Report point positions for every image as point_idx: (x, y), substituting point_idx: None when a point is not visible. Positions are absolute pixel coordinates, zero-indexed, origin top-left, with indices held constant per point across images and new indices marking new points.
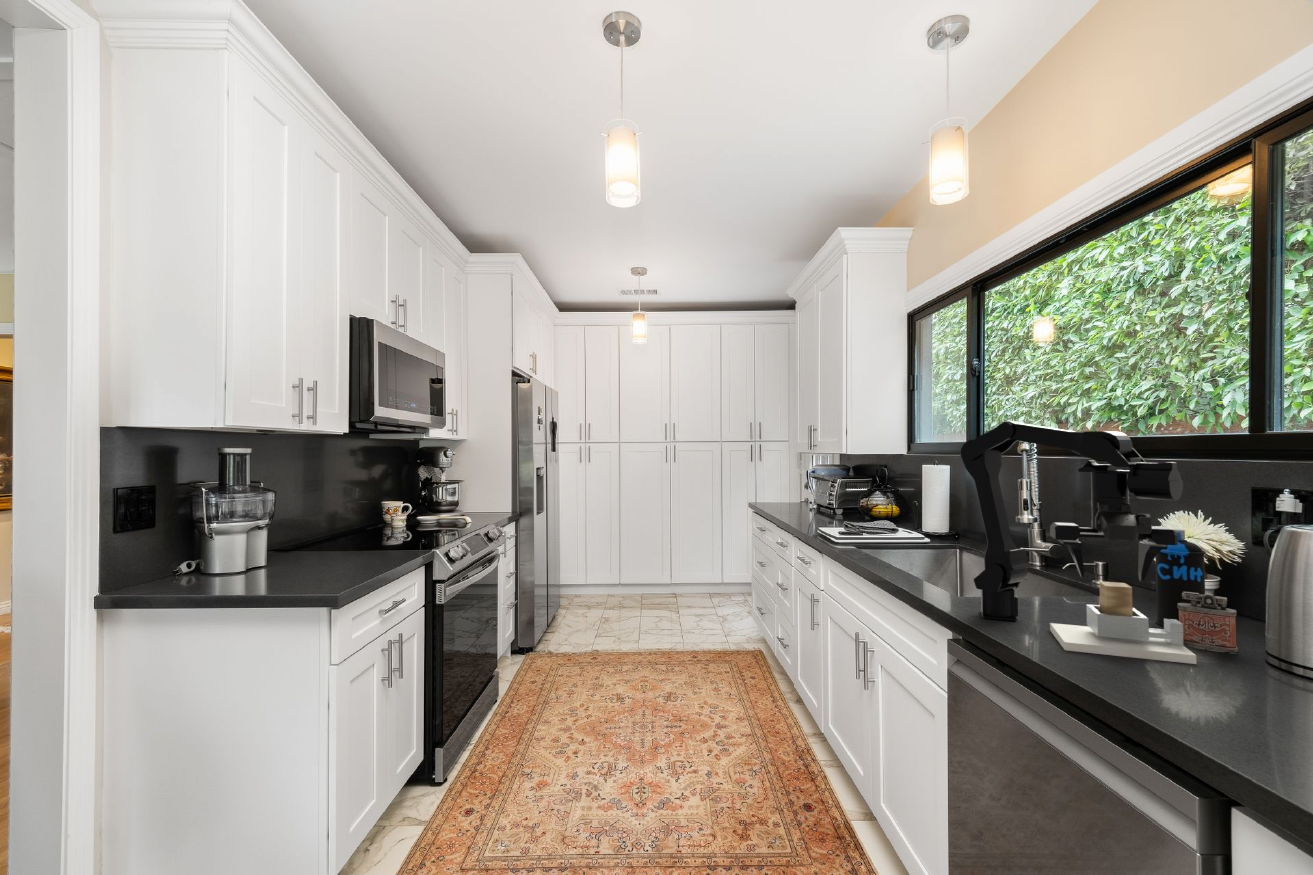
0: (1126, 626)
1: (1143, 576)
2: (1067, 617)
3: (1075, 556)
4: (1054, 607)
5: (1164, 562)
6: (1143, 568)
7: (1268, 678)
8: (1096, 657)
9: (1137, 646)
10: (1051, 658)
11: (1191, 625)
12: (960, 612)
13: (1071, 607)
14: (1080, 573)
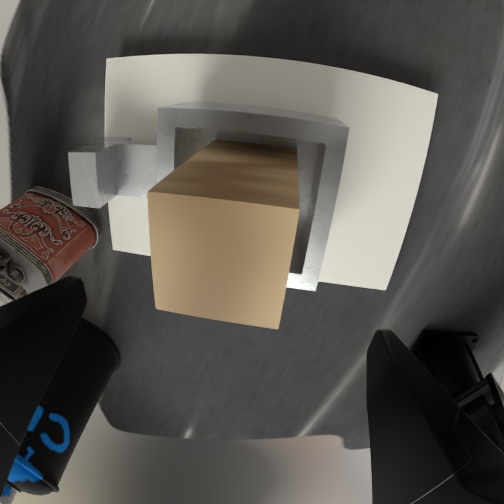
0: (243, 108)
1: (56, 286)
2: (280, 379)
3: (478, 430)
4: (276, 425)
5: (45, 448)
6: (25, 311)
7: (37, 28)
8: (365, 38)
9: (228, 89)
10: (478, 26)
11: (56, 234)
12: (487, 362)
13: (242, 426)
14: (400, 345)
